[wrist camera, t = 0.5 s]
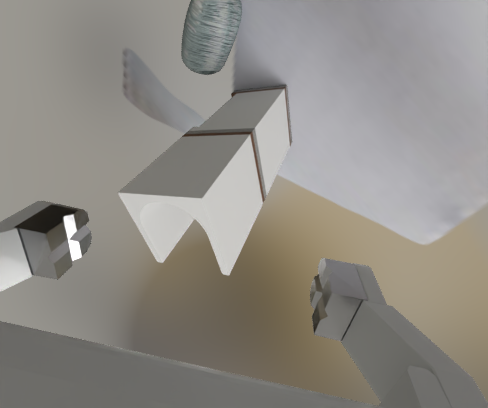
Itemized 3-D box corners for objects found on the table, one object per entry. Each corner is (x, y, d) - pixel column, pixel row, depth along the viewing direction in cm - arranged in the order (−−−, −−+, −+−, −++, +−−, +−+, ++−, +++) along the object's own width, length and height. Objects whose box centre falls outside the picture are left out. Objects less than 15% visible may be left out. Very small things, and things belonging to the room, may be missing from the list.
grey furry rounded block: (224, 91, 51) (186, 78, 43) (196, 62, 54) (155, 45, 46) (267, 19, 44) (231, -11, 36) (233, -10, 47) (193, -45, 39)
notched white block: (235, 90, 54) (117, 192, 29) (287, 85, 50) (201, 198, 25) (245, 142, 61) (157, 261, 36) (292, 141, 57) (229, 275, 32)
